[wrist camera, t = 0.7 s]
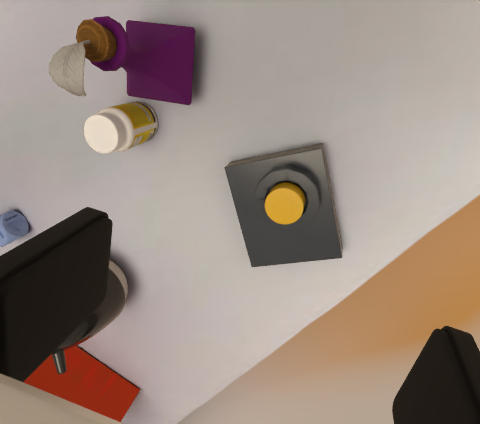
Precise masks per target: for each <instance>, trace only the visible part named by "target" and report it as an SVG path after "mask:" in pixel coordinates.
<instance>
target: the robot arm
mask: <svg viewBox="0 0 480 424" xmlns="http://www.w3.org/2000/svg"><path fill="white" fill-rule="evenodd" d="M111 235H112V220H111V219H108V214H107V213H105V212H102V211H99V210H96V209H93V208H90V207H87V208H84V209H82V210H81V211H79V212H77V213H75V214H74V215H72V216H70V217H68V218H67V219H65V220H63V221H61V222H60V223H58V224H56V225H54V226H53V227H51V228H49V229H47V230H45V231H44V232H42V233H40V234H38V235H37V236H35V237H33V238H31V239H30V240H28V241H26V242H24V243H23V244H21V245H19V246H17V247H16V248H14V249H12V250H10V251H8V252H7V253H5V254H3V255H1V256H0V424H123V423H121V422H118V421H116V420H114V419H111V418H109V417H106V416H104V415H101V414H99V413H96V412H94V411H92V410H89V409H87V408H84V407H82V406H79V405H77V404H75V403H72V402H70V401H67V400H65V399H62V398H60V397H58V396H55V395H53V394H50V393H48V392H45V391H43V390H41V389H38V388H36V387H33V386H31V385H28V384H26V383H23V382H24V381H25V380H26V379H27V378H28V377H29V376H30V375H31V374H32V373H33V372H34V371H35V370H36V369H37V368H38V367H39V366H40V365H41V364H42V363H43V362H44V361H45V360H46V359H47V358H48V357H49V356H50V355H51V354H52V353H53V352H54V351H55V350H56V349H57V348H58V347H59V346H60V345H61V344H62V343H63V342H64V341H65V340H66V339H67V338H68V337H69V336H70V335H71V334H72V333H73V332H74V331H75V330H76V329H77V328H78V327H79V326H80V325H81V324H82V323H83V322H84V321H85V320H86V319H87V318H88V317H89V316H90V315H91V314H92V313H93V312H94V311H95V310H96V309H97V308H98V307H99V306H100V305H101V304H102V302H103V301H104V299H105V297H106V293H107V283H108V271H109V259H110V247H111ZM392 411H393V419H394V424H480V351H479V349H478V347H477V345H476V343H475V341H474V339H473V337H472V335H471V334H469V333H467V332H463V331H461V330H458V329H455V328H452V327H449V326H445V327H443V328H442V329H441V330H440V329H435V330H434V331H433V332H432V334H431V336H430V337H429V339H428V341H427V343H426V344H425V346H424V348H423V350H422V351H421V353H420V355H419V357H418V358H417V360H416V362H415V364H414V365H413V367H412V369H411V371H410V372H409V374H408V376H407V378H406V380H405V381H404V383H403V385H402V386H401V388H400V390H399V391H398V393H397V395H396V397H395V399H394V402H393V409H392Z"/></svg>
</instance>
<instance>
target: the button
mask: <svg viewBox="0 0 480 424" xmlns="http://www.w3.org/2000/svg"><path fill="white" fill-rule="evenodd" d="M304 206H305V196H304V193H303V191H302V190H301V189H300V188H299V187H298V186H297V185H295V184H292V183H288V182H284V183H279V184H277V185H275V186H274V187H273V188H272V189H271V191H270V192H269V194H268V196H267V198H266V200H265V210H266V213H267V215H268V216H269V217H270V218H271V219H272V220H273V221H274V222H276V223H279V224H291V223H294V222H296V221H297V220H298V219H299V218H300V217H301V215H302V213H303V209H304Z"/></svg>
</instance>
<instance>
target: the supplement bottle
mask: <svg viewBox="0 0 480 424" xmlns="http://www.w3.org/2000/svg"><path fill="white" fill-rule="evenodd" d="M157 128H158V122H157V117H156V114H155V112H154V111H153V110H152V108H151V107H150V106H148V105H147V104H145V103H142V102H131V103H127V104H122V105H118V106H113V107H109V108H105V109H103V110H101V111H100V112H99V113H98V114H96V115H93V116H91V117H89V118H88V119H87V121H86V122H85V125H84V135H85V139H86V141H87V143H88V144H89V145H90V146H91V147H92V148H93V149H94V150H95V151H97V152H100V153H110V152H121V151H125V150H127V149H129V148H132V147H134V146H136V145H139V144H141V143H143V142H145V141H148V140H150V139H151V138H152V137H153V136H154V135H155V134H156V131H157Z"/></svg>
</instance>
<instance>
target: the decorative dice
mask: <svg viewBox="0 0 480 424" xmlns="http://www.w3.org/2000/svg"><path fill="white" fill-rule="evenodd" d="M28 230H29V226H28V222H27V220H26V218H25V217H24V216H23V215H22V214H20V213H19V212H16V211H13V210H11V211H9V212H6V213H4V214H2V215H0V246H1V247H3V246H5V245H7V244H9V243H11V242H13V241H14V240H16V239H18V238H20V237H22V236H24V235H25V234H27V233H28Z"/></svg>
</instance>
